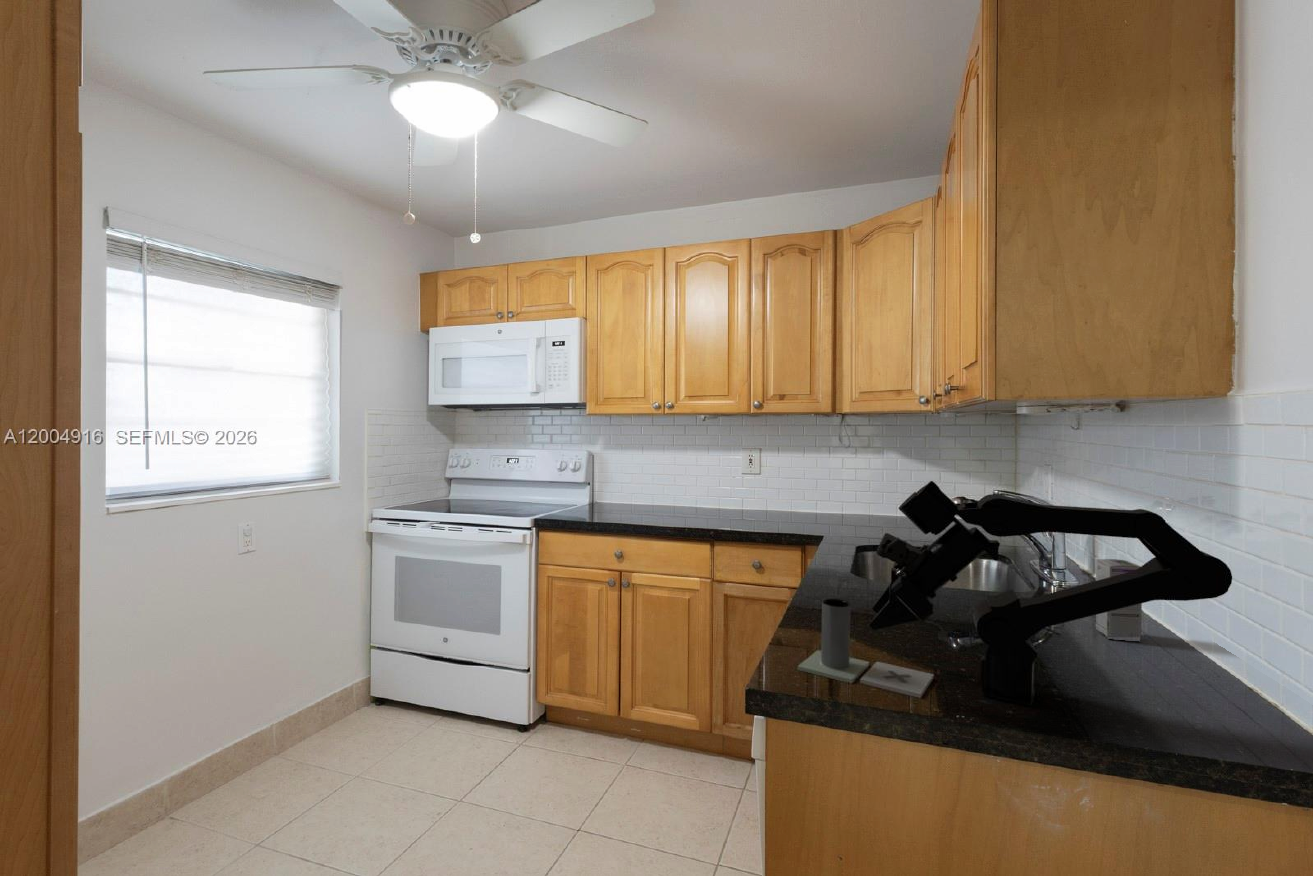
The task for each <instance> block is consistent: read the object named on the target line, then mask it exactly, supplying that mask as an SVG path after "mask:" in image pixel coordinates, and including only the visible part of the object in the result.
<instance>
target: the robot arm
mask: <svg viewBox="0 0 1313 876" xmlns="http://www.w3.org/2000/svg"><path fill="white" fill-rule="evenodd" d="M897 509H898V510H899V511H900V512H901V513H902V514H903V515H904V516H905V517H907V519H908V520H910V522H912V524H914V525H915V526H916V527H917V528H918V529H919V530H920V532H922V533H923V534H924V535H928V534H931V535H935V536H938V535H939V534H941V533H942V532H943V531H944V530H945V529H947V528H948V527H949V526H950V525H951V524H952V523H954V524H953V525H952V526H951V527H950V528H948V529H947V530H946V531H945V532H944V533H942V535H940V536H939V537H938V538H937V539H936V540H934V541H933V542H932V543H931V544H923V545H922V546H921V547H920V548H918V547H916V546H914V545H912V544H910V543H909V542H907V541H906V540H903V539H901V538H900V537H899V536H898V537H896V536H894V535H892V534H891V533H888V532H885V533H884V535H883V537H882V538H881V541H880V542H879V545H878V547H877V549H876V552H875V553H876V555H877V556H879V557H881V558H883V559H887V560H890V561H892V562H893V566H892V567H891V569H890V570H891V572H890V576H891V577H890V583H889V584H888V585H887V587H886V588H885V589H884V591H883V593H882V594H881V595H880V597H879V598H878V600H877V601H876V602H875V603H874V604H873V606H872V609H871V610H872V611H873V612H874V613H875V614H876V615H875V616H874V618H873V619H872V620H871V621H870V623H869V624H868V625H869V627H870V628H871V629H872V630H873V631H877V630H882V629H885V628H889V627H895V626H897V625H902V624H907V623H912V622H917V623H918V622H920V621H922V622H924V621H926V620H927V619H928V618H929V617H931V616H932V615H933V614H934V604H933V603H934V602H933V599H934V598H935V597H937V596H938V593H937V592H938V591H940V589H942V588H943V587H944V586H946V585H947V583H949V582H950V581H951V582H952V583H954V582H955V581H956V580H957V579H958V574H959V573H961V572H962V571H964V570H965V569H966V568H967V567H968V566H969V565H970V564H972V563H973V562H974V561H975V560H976V559H978V558H979V557H981V556H982V555H983V554H984V553H986V554H987V555H988V556H989V557H990V558H991V559H992V560H993V561H996V562H997V561H999V560H1000V556H999V548H1000V546H1001V543H1000V542H999V540H996V539H994V540H993V539H989V538H988V537H987V536H986V535H985V534H984V533H983V532H982V531H980V529H978V527H981V529H983V530H984V531H985V532H986V534H989V535H991V536H993V537H999V538H1003V537H1015V536H1016V537H1017V536H1019V537H1020V536H1026V535H1027V536H1028V535H1032V534H1037V533H1060V534H1072V535H1073V534H1075V535H1083V536H1085V535H1086V536H1100V537H1112V538H1113V537H1115V538H1127V539H1138V540H1139V542H1140V543H1141V544H1142V545H1143V546H1144V547H1145V548H1146V549H1147V550H1148V551H1149V552H1150V553H1151V554H1152V555H1153V556H1154V557H1153V558H1151V559H1150V560H1148V561H1147V562H1145V563H1144V564H1143V565H1141V567H1140V568H1138V569H1136V570H1134V571H1131V572H1127V573H1124V574H1120V575H1116V576H1112V577H1109V578H1105V579H1101V580H1098V581H1096V580H1094V581H1089V582H1087V583H1083V584H1080V585H1076V586H1072V587H1069V588H1065V589H1061V590H1057V591H1052V592H1049V593H1046V594H1042V595H1039V596H1035V597H1018V594H1016V592H1015V590H1014V589H1011V588H1010V589H1007V590H1006V591H1003V592H1001V593H998V594H995V595H994V594H993V595H991V594H989V595H988V594H985V598H986V599H985V600H982V601H980V602H978V603H977V605H975V607H974V610H973V613H972V619H973V623H974V627H975V629H976V630H975V631H976V634H977V636H978V637H979V638H980V640H981V641H982V643H984V644H986V645H987V648H986V650H985V652H984V655H983V656H982V657H981V659H980V672H979V673H980V675H979V686H980V687H981V688H982V690H981V695H983V696H985V697H989V698H992V699H993V698H995V699H997V700H1003V701H1006V702H1007V701H1008V702H1009V703H1010V702H1011V703H1015V704H1020V705H1023V706H1027V707H1031V706H1032V705H1033V701H1034V697H1035V693H1036V688H1034V679H1035V678H1034V676H1035V675H1034V674H1035V673H1034V672H1035V659H1036V658H1037V656H1038V653H1037V650H1036V648H1035V647H1034V645H1033V643H1032V641H1031V638H1033V637H1034V636H1036V635H1037V634H1039V633H1040V632H1042V631H1043V630H1045V629H1047V628H1048V627H1053V626H1058V625H1060V624H1065V623H1069V622H1073V621H1076V620H1080V619H1084V618H1089V617H1092V616H1095V615H1097V614H1101V613H1105V612H1109V611H1113V610H1117V609H1121V608H1125V607H1129V606H1133V605H1137V604H1141V603H1142V604H1144V603H1148V602H1152V601H1182V602H1185V601H1186V602H1187V601H1196V600H1197V601H1198V600H1208V599H1215V598H1219V597H1221V596H1224V595H1225V594H1227V593H1228V591H1229V588H1230V587H1231V586H1232V583H1233V574H1232V571H1231V569H1230V567H1229V566H1228V565H1227V563H1225V562H1224V561H1223V560H1221V559H1220V558H1218V557H1215V556H1214V555H1211V554H1209V553H1206V552H1204V551H1202V550H1200V549H1199V548H1198V547H1197V546H1195V544H1193V543H1191V542H1190V541H1189V540H1188V539H1187V538H1185V536H1183V535H1181V534H1180V533H1179V532H1177V531H1176V530H1175V529H1174V528H1173V527H1172V526H1171V525H1170V524H1169V523H1168V522H1166V520H1165V519H1164V518H1163V516H1161V515H1160V514H1158V513H1156V512H1154V511H1150V510H1147V509H1142V508H1138V509H1120V508H1119V509H1117V508H1116V509H1115V508H1100V507H1085V506H1083V507H1082V506H1072V505H1071V506H1069V505H1051V504H1043V503H1036V502H1033V501H1029V500H1026V499H1025V500H1024V499H1021V498H1017V497H1012V496H1008V495H1003V494H999V493H998V494H996V493H993V494H987V495H984V496H983V497H982V498H980V499H979V500H978V501H971V502H961V503H960V502H959V503H955V502H954V501H953V499H951V498H950V497H948V495H946V494H945V493H944V492H943V491H942V490H941V489H940V486H938V485H937V484H936V482H935V481H933V480H930V481H929V482H928V483H927V484H925V485H924V486H923V487H921V488H920V489H918V490H917V491H914V492H913V493H912V494H911V495H910V496H908V498H906V499H905V500H904V501H903V502H902V503H901V504H900V506H899V507H898V508H897ZM956 515H957V516H958V517H960V518H961V520H962V521H964V522H965V523H966V524H970V525H974V526H973V527H970V528H967V527H966V526H965V525H964V524H963V523H962V522H961V521H960V520H959V519H958V518H957V517H956ZM975 526H978V527H975Z"/></svg>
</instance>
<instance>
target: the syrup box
mask: <svg viewBox="0 0 1313 876" xmlns="http://www.w3.org/2000/svg"><path fill="white" fill-rule="evenodd" d="M1095 565H1096V566H1095V581H1098V580H1101V579H1105V578H1109V577H1112V576H1116V575H1120V574H1124V573H1127V572H1131V571H1134V570H1136V569H1138V568H1140V567H1141V566H1142V565H1141V566H1140V565H1138V564H1135V563H1133V562H1131V561H1128V560H1124V559H1115V558H1113V559H1112V558H1110V559H1109V558H1105V559H1104V558H1102V559H1097V558H1096V561H1095ZM1142 605H1143V603H1141V604H1137V605H1133V606H1129V607H1125V608H1121V609H1117V610H1113V611H1109V612H1105V613H1101V614H1097V615H1094V622H1095V623H1094V629H1095V628H1096V629H1097V630H1099V631H1100V632H1103V633H1104V634H1105V635H1106V636H1108V637H1109V636H1110V637H1131V638H1132V637H1141V638H1142V613H1143V612H1142Z"/></svg>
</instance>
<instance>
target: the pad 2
mask: <svg viewBox="0 0 1313 876" xmlns="http://www.w3.org/2000/svg"><path fill="white" fill-rule="evenodd" d="M934 678H935V674H933V673H928V672H925V671H921V670H917V669H911V668H907V667H903V666H899V665H894V664H889V663H885V662H881V661H876V662H875V663H873V665H872V666H871V667H870V668H869V669H868V670H867V671H866V673H865V674H863V676H861V678H860V679H859V683H860V684H862V683H863V685H867V686H872V687H874V688H879V689H883V690H887V691H890V692H894V693H898V694H903V695H905V696H906V695H908V696H911V697H915V698H918V699H922V696H923V695H924V694H925V692H926V691H927V689H928V688H929V686H930V684H931V683H932V681H933V680H934Z"/></svg>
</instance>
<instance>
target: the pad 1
mask: <svg viewBox="0 0 1313 876" xmlns="http://www.w3.org/2000/svg"><path fill="white" fill-rule="evenodd" d="M869 666H870V661H866V660H863V659H858V658H854V657H850V656H849V666H848V667H846V668H841V669H837V668H830V667H827V666H825V665H823V664H822V663H821V650H819V649H818V650H817V649H816V651H815V652H814V653H812V654H811V655H810V656H808V657H807V658H806V659H805V660H803V661H802V662H801V663H800V664H798V665H797V670H798V671H801V672H805V673H809V674H811V675H812V674H813V675H816V676H817V675H818V676H820V677H824V678H829V679H833V680H837V681H841V682H844V683H848V682H849V684H853V683H854V682H855V681H856V680H857V679H858V678H859V677H860V675H862V674H863V672H864V671H865V670H866V669H868V667H869ZM856 678H857V679H856ZM855 679H856V680H855Z"/></svg>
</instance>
